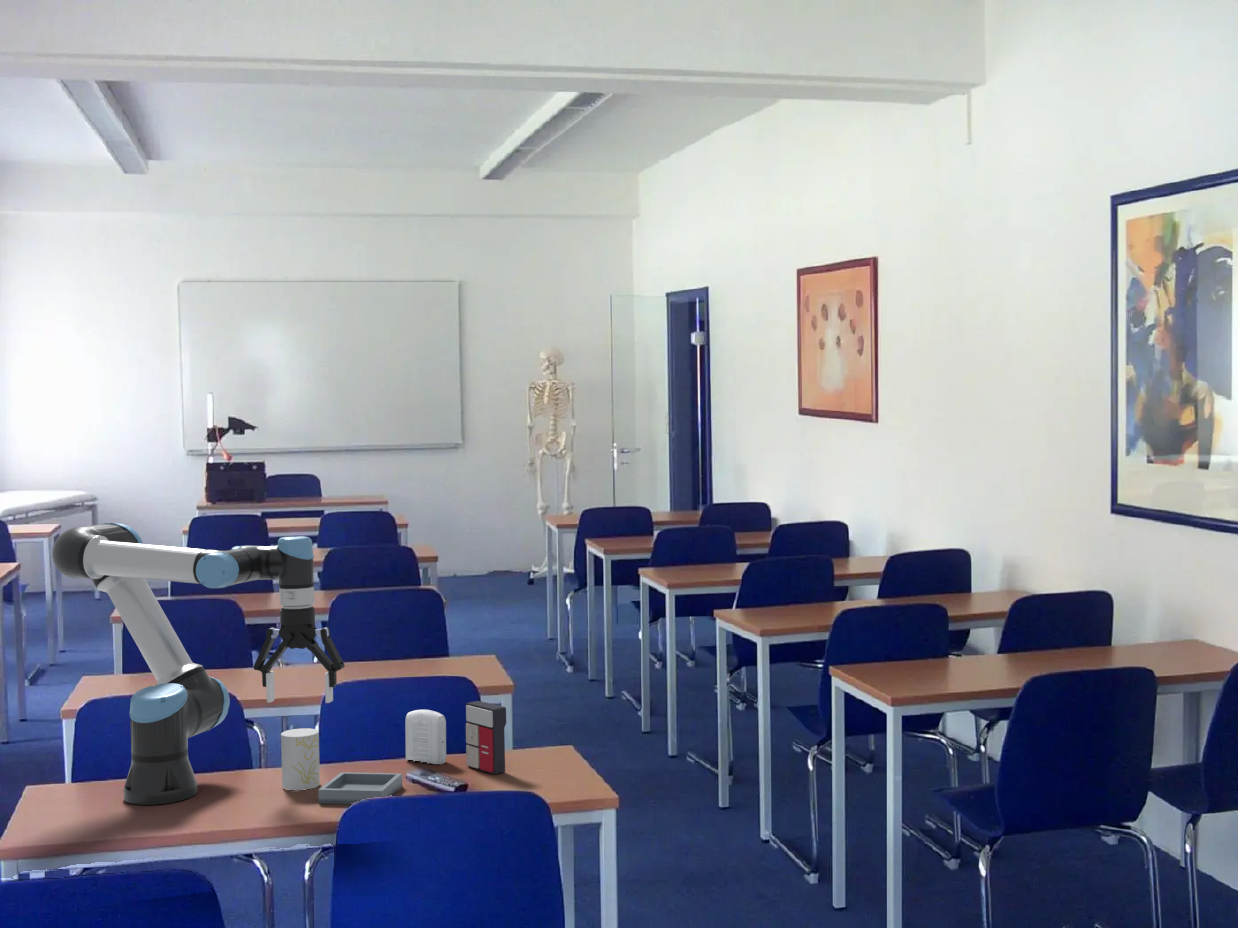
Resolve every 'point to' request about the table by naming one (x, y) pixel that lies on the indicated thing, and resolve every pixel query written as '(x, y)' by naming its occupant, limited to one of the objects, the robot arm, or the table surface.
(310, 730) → the cup
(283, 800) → the table surface
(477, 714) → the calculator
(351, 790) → the tray
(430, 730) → the white rounded block
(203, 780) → the table surface
